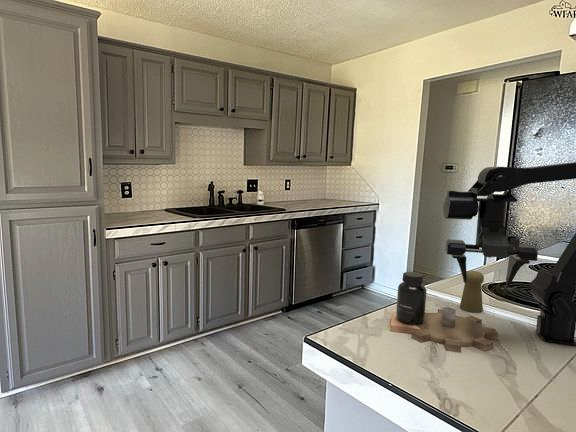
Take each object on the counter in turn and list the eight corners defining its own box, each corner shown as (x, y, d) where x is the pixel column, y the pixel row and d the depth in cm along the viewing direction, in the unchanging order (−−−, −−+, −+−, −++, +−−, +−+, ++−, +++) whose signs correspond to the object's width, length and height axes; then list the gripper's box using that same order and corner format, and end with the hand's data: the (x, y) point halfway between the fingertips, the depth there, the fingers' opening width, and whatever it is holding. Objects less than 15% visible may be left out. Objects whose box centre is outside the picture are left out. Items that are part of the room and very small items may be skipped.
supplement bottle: (398, 324, 91) (400, 277, 89) (394, 314, 97) (396, 269, 96) (427, 326, 90) (430, 278, 88) (421, 315, 96) (423, 271, 95)
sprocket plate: (487, 320, 98) (488, 300, 97) (508, 359, 78) (510, 334, 77) (392, 309, 105) (393, 290, 104) (389, 342, 85) (390, 319, 84)
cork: (487, 313, 102) (490, 274, 101) (465, 313, 103) (468, 274, 101) (476, 305, 108) (479, 268, 107) (455, 305, 109) (458, 268, 107)
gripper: (452, 222, 82) (447, 290, 84) (549, 227, 77) (542, 300, 78) (446, 216, 93) (442, 277, 95) (532, 220, 87) (526, 284, 89)
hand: (485, 284), depth 89 cm, fingers open, 9 cm apart
